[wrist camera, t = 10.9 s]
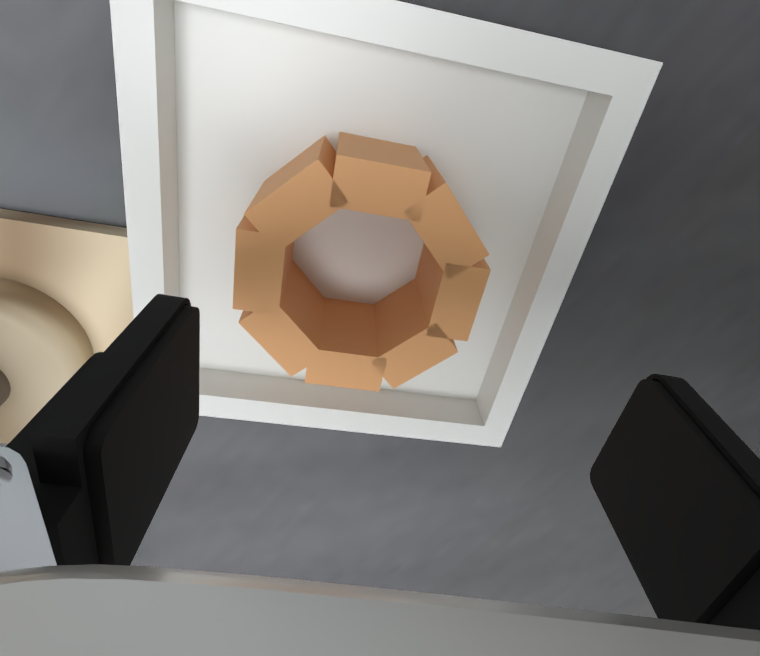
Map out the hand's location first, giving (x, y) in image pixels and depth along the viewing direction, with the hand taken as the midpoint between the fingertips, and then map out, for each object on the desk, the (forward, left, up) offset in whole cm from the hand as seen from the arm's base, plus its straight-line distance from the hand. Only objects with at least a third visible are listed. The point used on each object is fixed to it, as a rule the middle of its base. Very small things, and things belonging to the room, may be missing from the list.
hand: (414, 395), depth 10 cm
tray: (+1, 0, -9) cm, 9 cm away
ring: (+1, 0, -8) cm, 8 cm away
